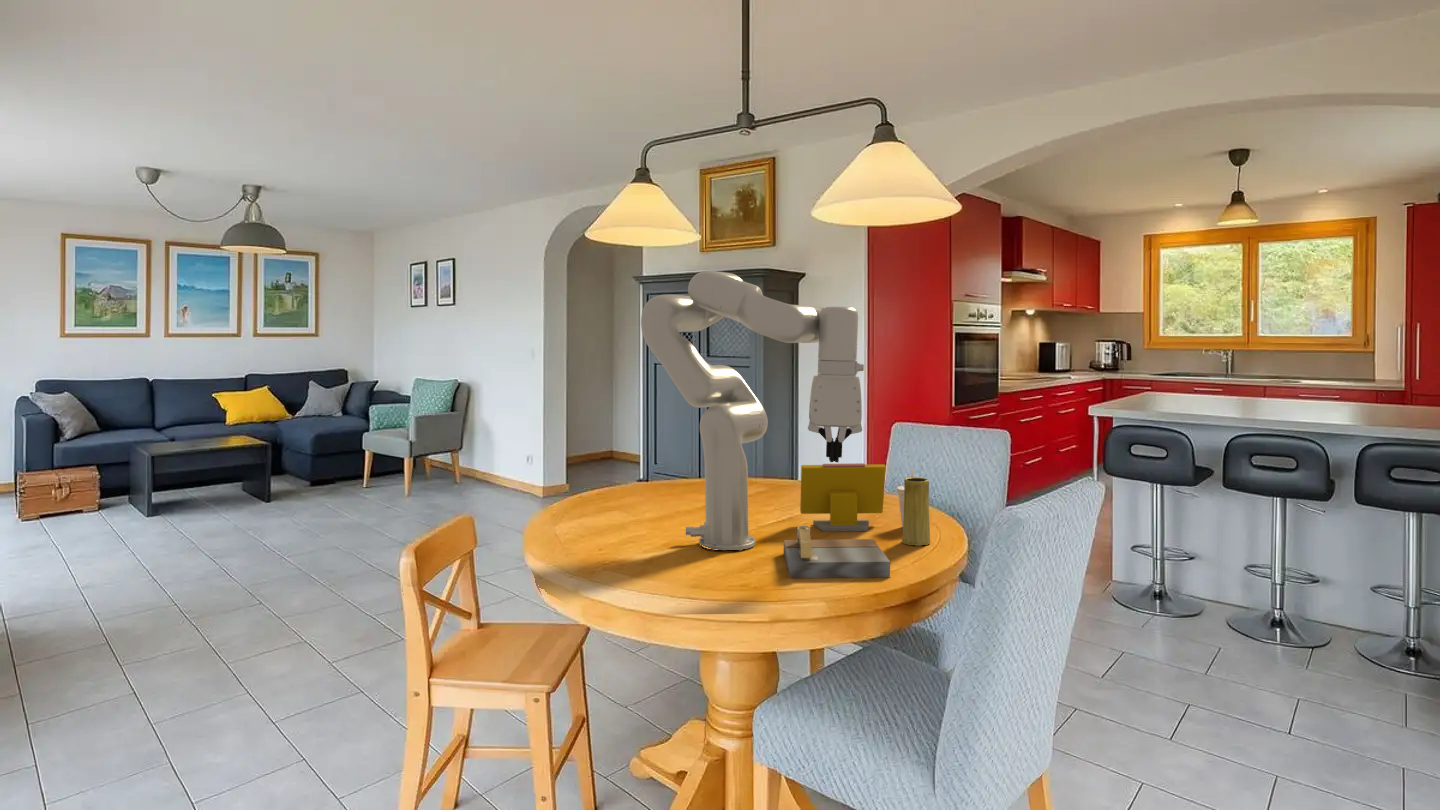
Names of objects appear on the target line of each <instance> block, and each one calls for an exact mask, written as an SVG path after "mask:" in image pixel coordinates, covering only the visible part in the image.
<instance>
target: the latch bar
mask: <svg viewBox="0 0 1440 810" xmlns="http://www.w3.org/2000/svg"><path fill="white" fill-rule="evenodd" d="M796 527H797V528H796V529H797V540H798V542H799V546H800V554H801V558H811V540H812V539H811V527H810V526H807V525H799V526H796Z"/></svg>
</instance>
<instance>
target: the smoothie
mask: <svg viewBox="0 0 1440 810" xmlns="http://www.w3.org/2000/svg"><path fill="white" fill-rule="evenodd" d="M910 478H914V470H913V469H912V470H911V471H910ZM896 492H897V495H898V502H899V512H900V518H901V528H902V527H903V518H904V485H900V486H897V487H896Z"/></svg>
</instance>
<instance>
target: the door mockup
mask: <svg viewBox="0 0 1440 810" xmlns="http://www.w3.org/2000/svg"><path fill="white" fill-rule="evenodd" d="M783 556H784V560H785V565H786V568H787V571H788V575H790V576H789V579H817V578H818V579H822V578H823V579H827V578H828V579H831V578H832V579H833V578H834V579H835V578H836V579H837V578H839V579H840V577H854V578H891V561H890V560H889V558H888V557H887V555H886V554H885V553H884V552H883V550H882V549H881V548H880V546H879V545H878V543H877V542H876V541H875V539H874V538H867V539H865V538H860V539H859V538H858V539H856V538H853V539H852V538H851V539H850V538H848V539H847V538H846V539H841V538H840V539H811V558H801V554H800V546H799V542H798V539H783Z"/></svg>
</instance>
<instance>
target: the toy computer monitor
mask: <svg viewBox="0 0 1440 810" xmlns="http://www.w3.org/2000/svg"><path fill="white" fill-rule="evenodd" d="M800 466H801V467H800V468H801V469H800V471H801V472H800V505H799V506H800V509H799V510H800V514H801V515H810V514H811V515H813V514H814V515H817V514H819V515H821V514H823V515H825V514H827V515H828V514H829V516H830V517H829V519H827V520H826V519H821V520H820V519H818V520H817V519H815V520H812V521H813V522H812V524H813V525H814V526H815V527H816V526H817V527H816V528H818V529H819V530H820V529H821V530H820V531H822V532H823V531H831V532H868V531H869V526H870V520H869V519H858V514H883V511H884V510H883V509H884V498H885V484H886V469H887V468H886V465H885V464H881V463H880V464H878V463H877V464H874V463H873V464H866V463H858V462H856V463H823V464H802V465H800Z"/></svg>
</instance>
